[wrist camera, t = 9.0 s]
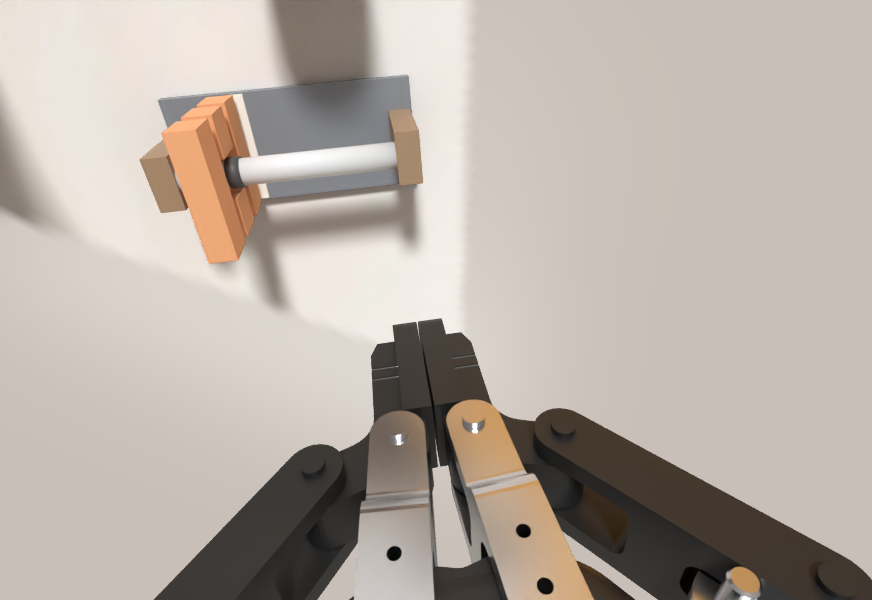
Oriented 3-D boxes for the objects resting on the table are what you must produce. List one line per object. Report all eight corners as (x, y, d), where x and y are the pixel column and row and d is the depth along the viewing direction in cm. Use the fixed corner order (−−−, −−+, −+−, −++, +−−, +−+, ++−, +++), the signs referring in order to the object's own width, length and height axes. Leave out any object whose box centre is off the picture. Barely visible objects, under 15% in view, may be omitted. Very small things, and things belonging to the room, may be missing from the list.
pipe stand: (198, 203, 45) (170, 243, 38) (161, 98, 40) (121, 122, 33) (416, 178, 46) (428, 212, 39) (407, 74, 41) (418, 93, 35)
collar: (239, 204, 44) (209, 263, 35) (206, 97, 39) (161, 133, 30) (261, 202, 44) (238, 260, 35) (232, 94, 39) (195, 129, 30)
